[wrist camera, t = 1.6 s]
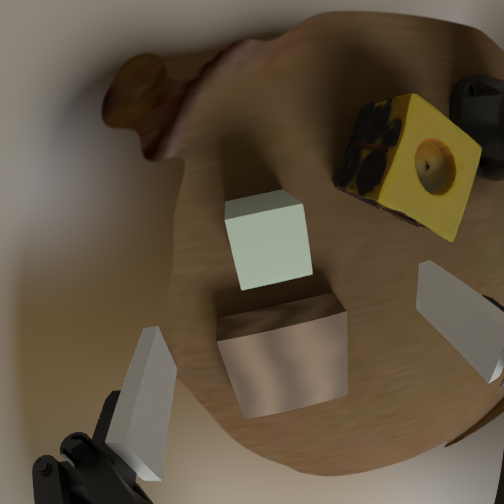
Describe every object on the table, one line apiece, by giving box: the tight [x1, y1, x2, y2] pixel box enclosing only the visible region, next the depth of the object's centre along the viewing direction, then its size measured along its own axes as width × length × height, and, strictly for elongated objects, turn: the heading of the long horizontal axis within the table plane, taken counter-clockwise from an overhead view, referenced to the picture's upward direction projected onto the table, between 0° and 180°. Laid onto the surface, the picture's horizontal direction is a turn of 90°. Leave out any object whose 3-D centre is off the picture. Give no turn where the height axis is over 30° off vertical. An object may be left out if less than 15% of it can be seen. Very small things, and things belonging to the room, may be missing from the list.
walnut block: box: [217, 292, 348, 419], centre depth 34 cm, size 14×14×5 cm
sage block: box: [225, 189, 313, 290], centre depth 27 cm, size 6×6×8 cm
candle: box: [334, 93, 482, 242], centre depth 24 cm, size 10×10×10 cm
